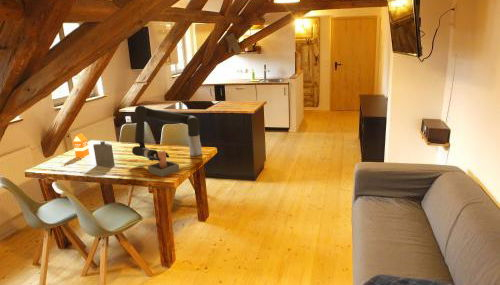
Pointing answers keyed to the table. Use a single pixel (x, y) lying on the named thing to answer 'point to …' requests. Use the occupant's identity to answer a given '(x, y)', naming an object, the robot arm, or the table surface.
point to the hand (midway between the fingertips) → (163, 157)
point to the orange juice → (80, 146)
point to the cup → (162, 159)
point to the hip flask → (104, 154)
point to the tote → (157, 171)
